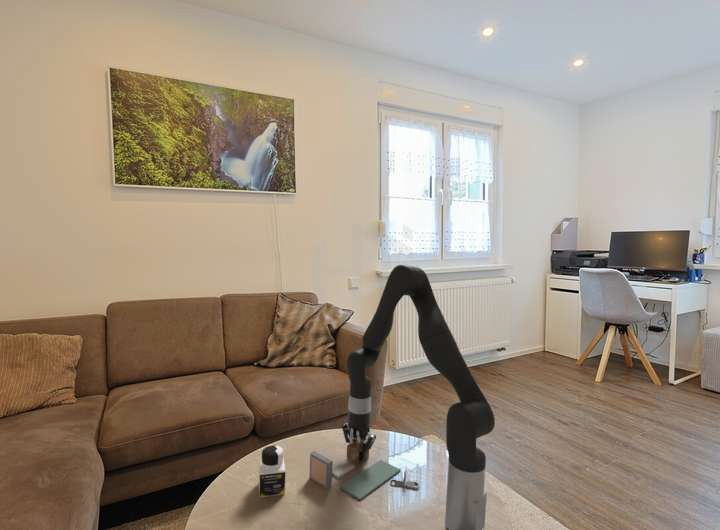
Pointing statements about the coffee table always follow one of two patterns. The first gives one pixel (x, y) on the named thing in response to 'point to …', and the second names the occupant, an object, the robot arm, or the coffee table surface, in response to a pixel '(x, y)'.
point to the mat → (369, 479)
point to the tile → (321, 470)
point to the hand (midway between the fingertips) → (357, 458)
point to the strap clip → (408, 484)
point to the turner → (348, 460)
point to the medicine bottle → (272, 472)
